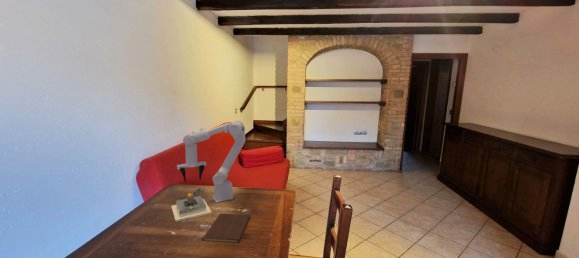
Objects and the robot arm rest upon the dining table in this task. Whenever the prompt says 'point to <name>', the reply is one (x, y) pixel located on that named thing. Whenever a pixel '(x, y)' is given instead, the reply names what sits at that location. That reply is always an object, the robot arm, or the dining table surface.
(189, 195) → the orange topped can
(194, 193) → the pliers
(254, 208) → the dining table surface
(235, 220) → the notebook
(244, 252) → the dining table surface
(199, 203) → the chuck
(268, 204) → the dining table surface
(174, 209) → the stand base
